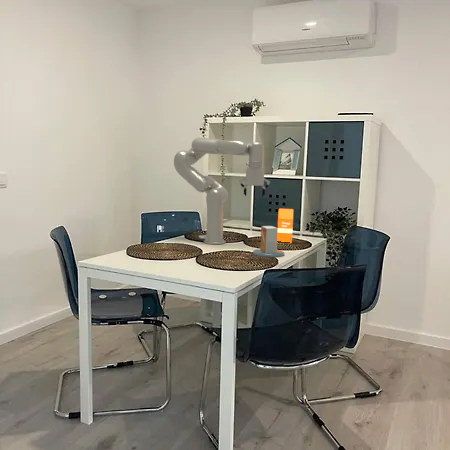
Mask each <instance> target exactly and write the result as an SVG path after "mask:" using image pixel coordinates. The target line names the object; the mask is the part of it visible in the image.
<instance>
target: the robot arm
mask: <svg viewBox="0 0 450 450" xmlns="http://www.w3.org/2000/svg"><path fill="white" fill-rule="evenodd" d="M263 151H264V145H263V143H262V142H257V141H256V142H255V141H254V142H246V141H239V140H224V139H220V138H208V137H207V138H205V137H204V138H203V137H197V138H196V137H195V139H193V140H192V142H191V147H190V148H189V149H188V150H180V151H177V152H176V154H175V155H174V157H173V166H174V168H175V170H176V172H177V173H178V175H179V176H180V177H181V178H183V179H184V180H185V182H187V183H188V184H189V185H190V186H192V187H193V188H194V189H195V190H196V191H197V192H199V193H205V194H206V196H205V199H206V200H205V201H206V234H204V235H203V234H202V235H201V234H199V235H198V239H201V240H203V243H204V244H208V245H224V244H226V240H224V213H225V212H224V203H226V202H227V201H228V199H229V193H228V190H227V189H226V188H225V187H224V186H223V185H222V184H220V183H219V182H218V181H217V180H216V179H215V178H213V177H212V176H209V175H203V174H202V173H200V172H199V171H198V170H197V169H196V168H195V167H193V166H192V165H194V164H196V163H197V162H198V161H200V159H202V158H204V156H205V155H206V154H210V155H231V156H233V155H234V156H248V161H247V162H245V166H248V167H246V173H245V177H244V178H241V179H240V180H239V181H238V183H239V184H240V186H241V188H242V189H243V195H244V196H245V197H246V196H247V190H248V189H247V187H248V186H250V187H251V186H252V187H253V186H255V187H258V186H259V187H261V188H262V193H261V197H264V196H265V195H266V189H267V188H269V185H270V183H271V181H270V180H269V179H266V178H265V170H264V167H263V154H264V152H263ZM243 182H245V184H244V183H243ZM265 182H266V185H264V184H265Z"/></svg>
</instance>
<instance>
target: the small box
mask: <svg viewBox="0 0 450 450" xmlns="http://www.w3.org/2000/svg"><path fill="white" fill-rule="evenodd" d="M277 233H278V227H276V226H273V225H261V227H260V247H259V248H260V250H261V251H263V252H264V253H277V250H278V242H277Z"/></svg>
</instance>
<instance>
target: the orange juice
mask: <svg viewBox="0 0 450 450" xmlns="http://www.w3.org/2000/svg"><path fill="white" fill-rule="evenodd" d="M277 217H278V218H277V228H278V233H277V241H281V242H290V243H289V244H292V242H293V231H294V230H293V228H294V227H293V224H294V209H293V208H279V209H278V216H277Z"/></svg>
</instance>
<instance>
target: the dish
mask: <svg viewBox="0 0 450 450" xmlns="http://www.w3.org/2000/svg"><path fill="white" fill-rule="evenodd" d="M252 254H253V255H254V256H256V255H257V257H261V256H262V257H263V258H281V257H284V256H285V252H284V250H283V251H282V250H279V249H277V253H264V252H263V251H261V250H260V249H259V248H258V249H254V250H253V253H252ZM262 257H261V258H262Z"/></svg>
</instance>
